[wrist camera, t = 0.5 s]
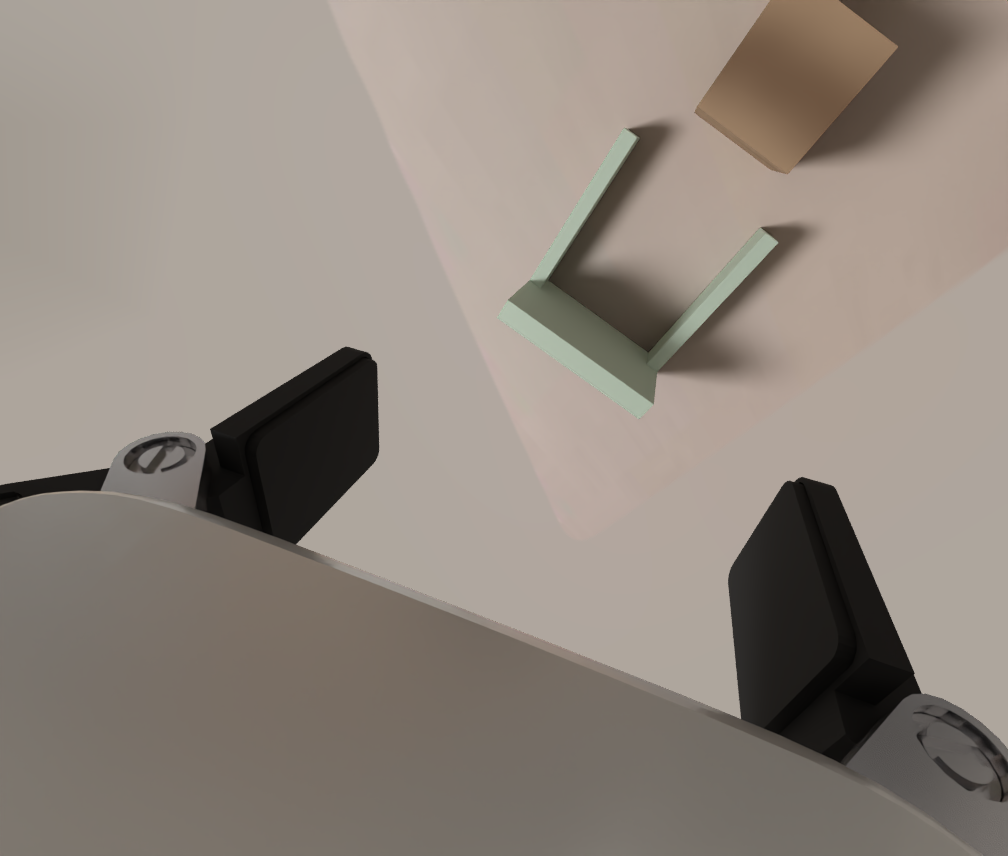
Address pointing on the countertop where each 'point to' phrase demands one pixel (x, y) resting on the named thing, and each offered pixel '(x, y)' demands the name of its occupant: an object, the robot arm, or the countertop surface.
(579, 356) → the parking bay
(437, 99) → the countertop surface
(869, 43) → the walnut block
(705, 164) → the countertop surface
